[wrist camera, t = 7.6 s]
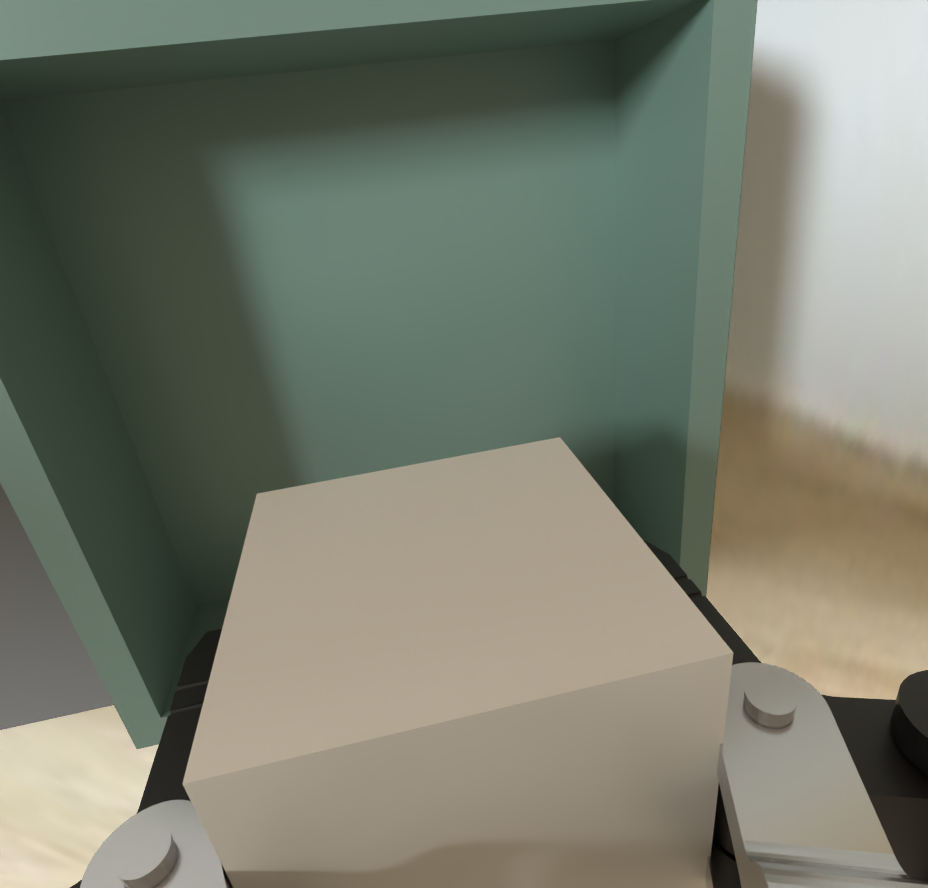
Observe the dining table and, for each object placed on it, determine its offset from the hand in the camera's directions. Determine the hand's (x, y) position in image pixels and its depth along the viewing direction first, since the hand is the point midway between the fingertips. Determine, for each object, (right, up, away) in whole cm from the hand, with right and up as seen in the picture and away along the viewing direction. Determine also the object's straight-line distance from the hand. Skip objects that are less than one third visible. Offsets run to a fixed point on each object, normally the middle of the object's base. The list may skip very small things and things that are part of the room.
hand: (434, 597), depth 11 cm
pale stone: (0, 0, 0) cm, 0 cm away
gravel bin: (-2, +5, +6) cm, 8 cm away
